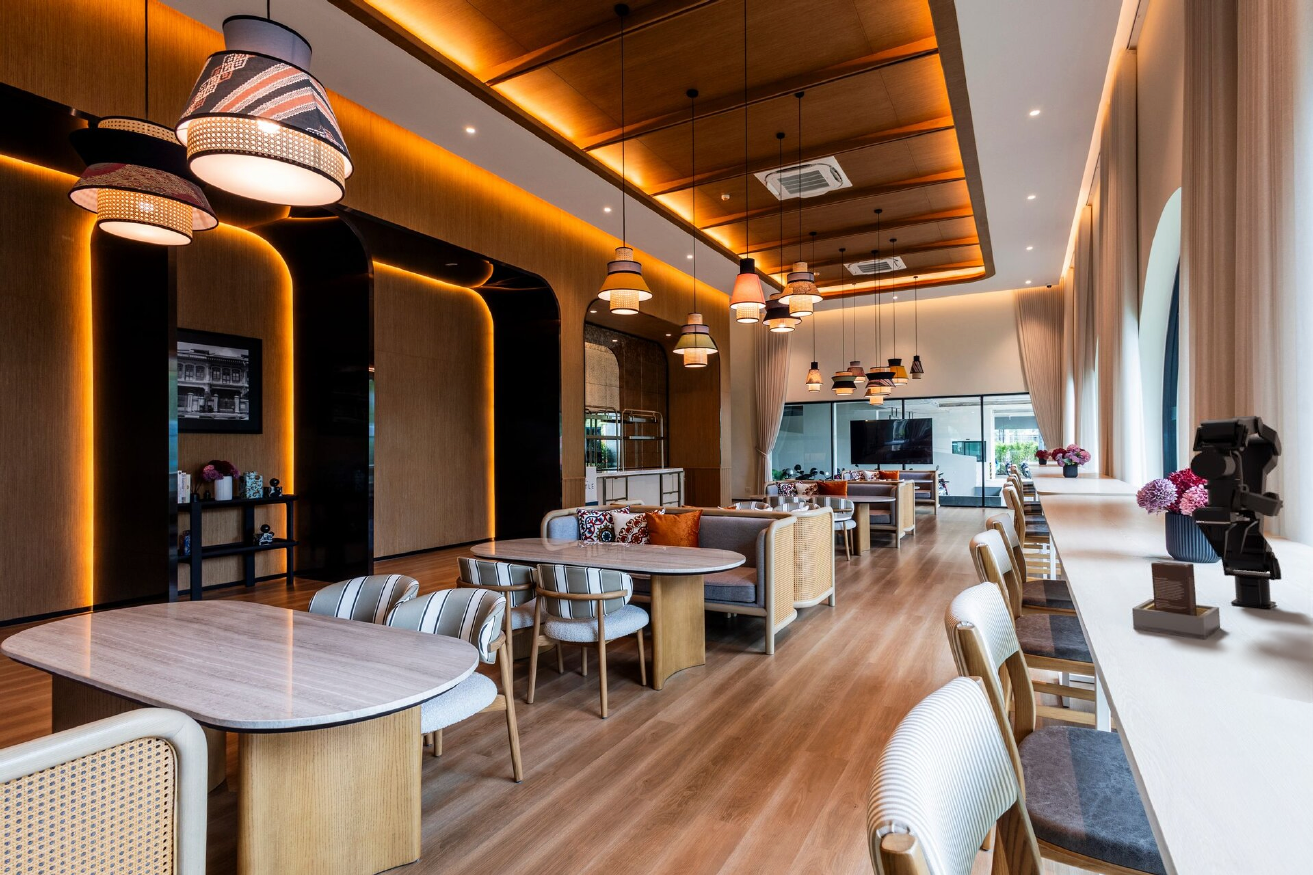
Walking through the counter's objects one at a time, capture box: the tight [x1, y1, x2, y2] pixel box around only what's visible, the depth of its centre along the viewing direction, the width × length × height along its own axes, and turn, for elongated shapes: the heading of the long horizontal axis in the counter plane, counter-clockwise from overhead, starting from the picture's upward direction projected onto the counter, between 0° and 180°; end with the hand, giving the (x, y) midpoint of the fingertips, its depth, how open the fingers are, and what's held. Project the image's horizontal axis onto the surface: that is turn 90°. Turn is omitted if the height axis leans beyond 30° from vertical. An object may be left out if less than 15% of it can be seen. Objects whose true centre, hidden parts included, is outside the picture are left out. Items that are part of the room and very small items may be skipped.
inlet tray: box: [1132, 598, 1221, 640], centre depth 131 cm, size 11×11×4 cm
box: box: [1150, 560, 1197, 616], centre depth 131 cm, size 6×4×12 cm
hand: (1229, 555), depth 136 cm, fingers open, 9 cm apart
